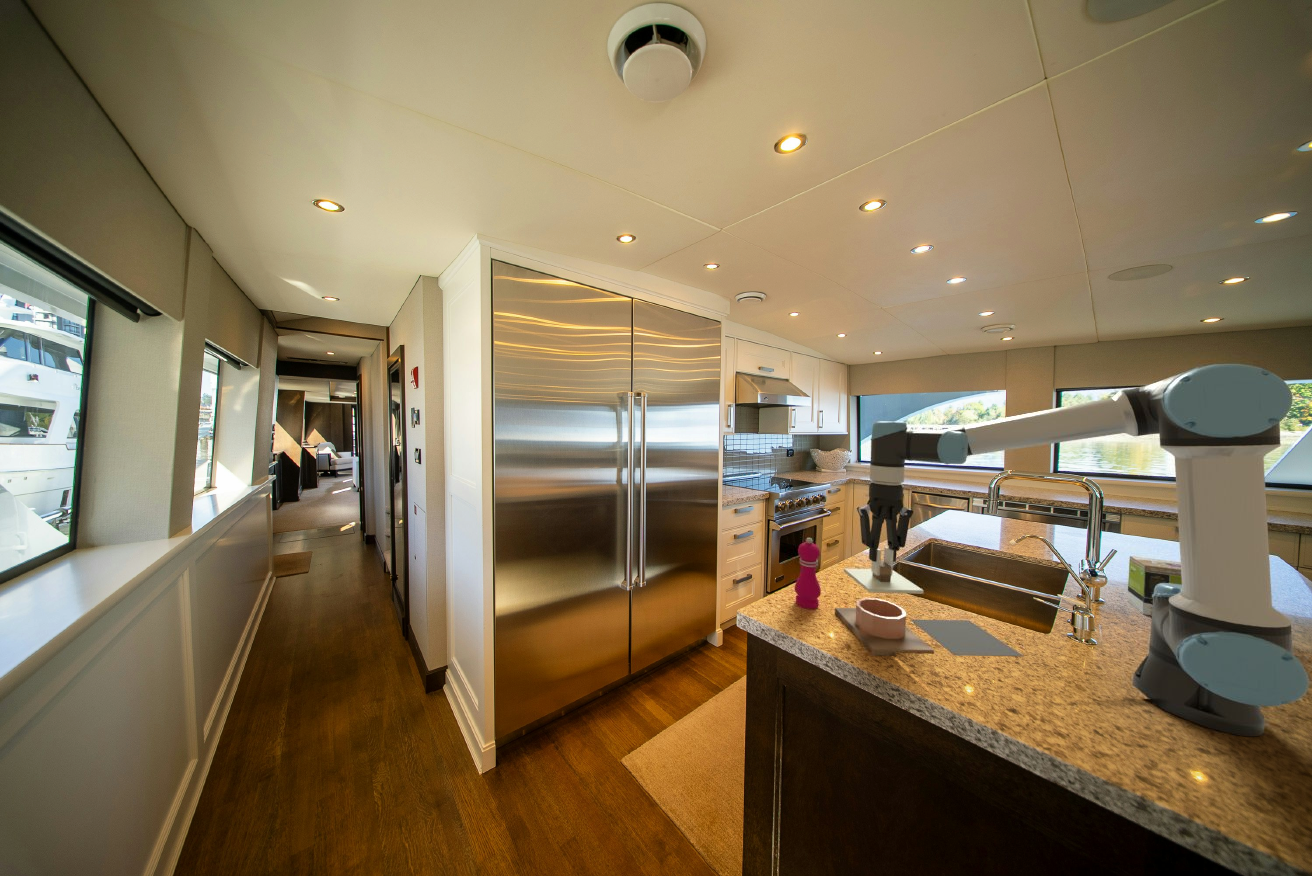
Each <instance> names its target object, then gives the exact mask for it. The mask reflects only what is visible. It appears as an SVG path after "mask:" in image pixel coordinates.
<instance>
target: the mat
mask: <svg viewBox="0 0 1312 876" xmlns="http://www.w3.org/2000/svg"><path fill="white" fill-rule="evenodd" d="M909 620H910V621H911V622H912V623H913V624H914V625H916V626H917V627H918V628H920V630H922V631H923V632H925V633H926V634H927V635H928V636H930V637H931V638H932V639H933V640H934V641H936V642H937V643H938V644H939V645H940V646H943V648H945V649H946V650H947V651H948V652H950V654H953V656H978V657H979V656H981V657H982V656H983V657H985V656H987V657H1024V655H1023V654H1022V653H1021V652H1018V651H1017V650H1015V649H1014V648H1012V647H1011V646H1010V645H1008V644H1007V643H1005V642H1003V641H1001V640H1000V639H999V638H997V637H995V636H994V635H992V634H991V633H990V632H987V631H986V630H985V629H983V628H981V626H978V625H977V624H975V623H974V622H972V621H971V620H969V619H967V620H965V619H962V620H961V619H959V620H958V619H913V618H912V619H909Z"/></svg>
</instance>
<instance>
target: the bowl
mask: <svg viewBox="0 0 1312 876" xmlns="http://www.w3.org/2000/svg"><path fill="white" fill-rule="evenodd" d="M855 608H856V625H857V626H858V627H859V628H860V629H861V630H863V631H865V632H867V633H869V634H871V635H874V636H878V637H882V638H886V639H899V638H901V637H903V636H905V627H907V626H906V625H907V624H906V623H907V611H906V610H905V609H904V608H902V607H901V606H900V605H898V604H896V603H893V602H891V601H888V600H884V599H881V598H876V597H875V598H874V597H872V598H871V597H862V598H860V599H857V600H856V604H855Z"/></svg>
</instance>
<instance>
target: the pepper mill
mask: <svg viewBox="0 0 1312 876" xmlns="http://www.w3.org/2000/svg"><path fill="white" fill-rule="evenodd" d="M813 541H814V540H813V538H811V537H807V538H806V539H805V542H803V543H800V544H799V546H798V549H797V553H798V555H799V557H800V558H799V564H800V573H799V575H798V577H797V579H796V581H795V584H794V592H795V593H796V596H795V603H796V605H797V606H798V607H799V608H804V609H807V610H815V609H817V608H819V605H820V604H819V603H820V602H819V601H820V600H819V599H818V598H819V597H820V596H821V594H822V591H821V586H820V583H819V581H818V578H817V575H816V573H817V572H816V571H817V567H818V565H819V563H818V562H819V561H818V559H819V557H820V556H821V550H820V548H819V546H817V545H816V544H815V543H813Z"/></svg>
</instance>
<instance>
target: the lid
mask: <svg viewBox="0 0 1312 876" xmlns="http://www.w3.org/2000/svg"><path fill="white" fill-rule="evenodd" d="M843 572H844V573H846V575H848V576H849V577H850V578H851V579H852V580H854V581H855V582H856V583H857V584H858V585H860V587H862V588H863V589H864V590H866V591H867V592H868V593H872V594H874V593H876V594H879V593H880V594H912V595H913V594H916V595H917V594H920V595H921V594H923V595H924V593H925V592H924V590H923V588H920V587H919V586H918V585H916V584H915V583H913V582H912V581H910V580H909V579H907V578H906V577H904V576H903V575H901V574H899V573H898V572H897V571H895V570H893V572H892V576H891V566H890V565H888V564H886V563H885V562H884V560H881V565H880V576H879V575H876V574H874V573H873V572H872V571H871V568H843Z"/></svg>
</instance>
